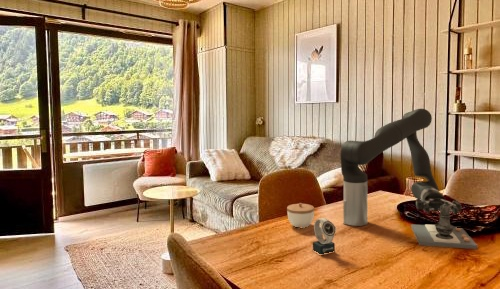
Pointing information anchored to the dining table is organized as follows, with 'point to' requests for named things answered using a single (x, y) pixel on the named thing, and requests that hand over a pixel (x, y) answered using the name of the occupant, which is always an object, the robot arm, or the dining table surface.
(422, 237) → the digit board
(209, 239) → the dining table surface
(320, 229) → the watch
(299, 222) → the lidded jar
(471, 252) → the dining table surface
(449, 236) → the salt shaker
